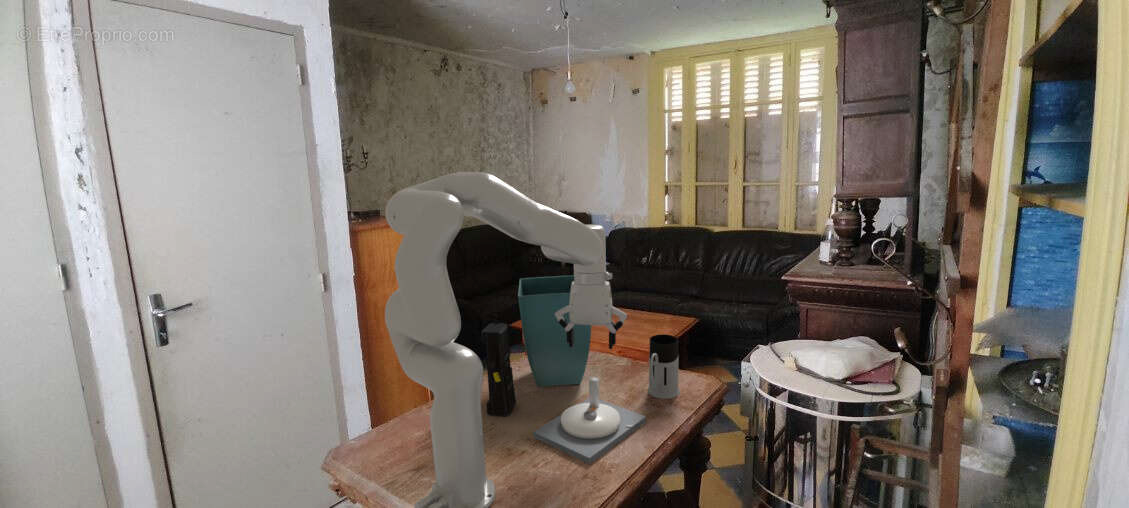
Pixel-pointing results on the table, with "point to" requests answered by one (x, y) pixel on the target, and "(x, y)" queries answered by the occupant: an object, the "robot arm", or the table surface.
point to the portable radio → (499, 369)
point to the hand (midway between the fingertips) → (591, 346)
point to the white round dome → (590, 417)
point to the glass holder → (663, 367)
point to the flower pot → (551, 332)
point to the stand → (588, 447)
